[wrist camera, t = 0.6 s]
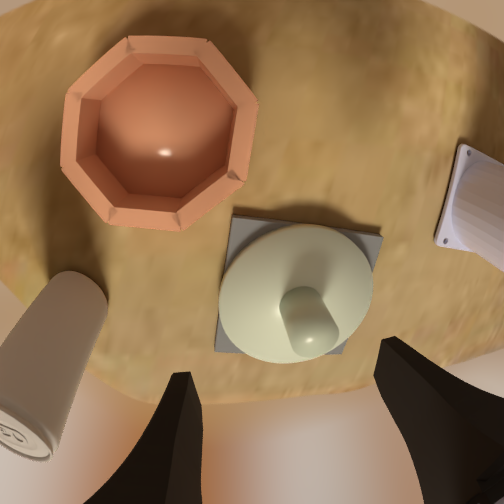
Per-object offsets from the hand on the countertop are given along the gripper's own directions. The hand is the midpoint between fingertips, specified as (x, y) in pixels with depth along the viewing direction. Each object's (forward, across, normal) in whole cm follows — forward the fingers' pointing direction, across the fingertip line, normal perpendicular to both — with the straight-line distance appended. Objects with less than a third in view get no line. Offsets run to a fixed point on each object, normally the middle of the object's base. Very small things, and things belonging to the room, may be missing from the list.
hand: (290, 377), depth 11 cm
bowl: (+10, +4, -9) cm, 14 cm away
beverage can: (+10, +13, +1) cm, 16 cm away
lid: (+9, -2, +3) cm, 10 cm away
